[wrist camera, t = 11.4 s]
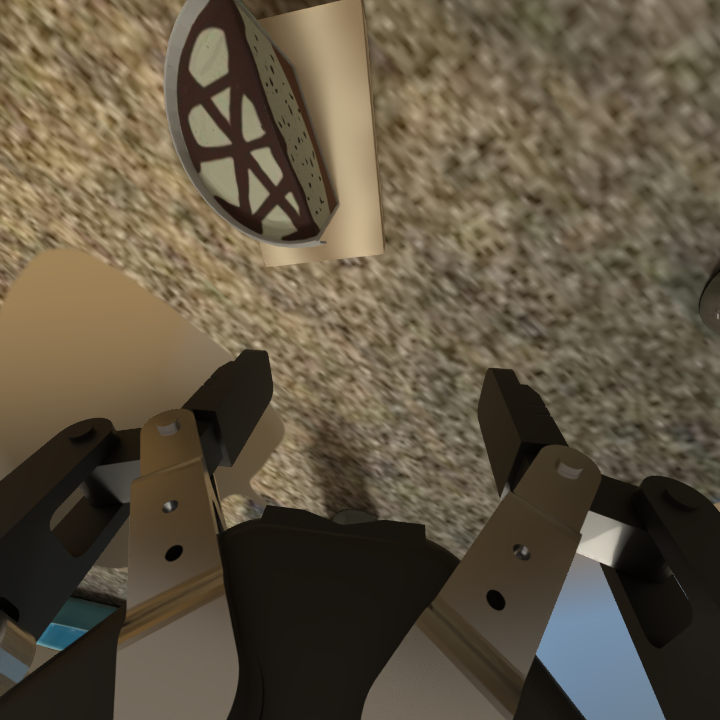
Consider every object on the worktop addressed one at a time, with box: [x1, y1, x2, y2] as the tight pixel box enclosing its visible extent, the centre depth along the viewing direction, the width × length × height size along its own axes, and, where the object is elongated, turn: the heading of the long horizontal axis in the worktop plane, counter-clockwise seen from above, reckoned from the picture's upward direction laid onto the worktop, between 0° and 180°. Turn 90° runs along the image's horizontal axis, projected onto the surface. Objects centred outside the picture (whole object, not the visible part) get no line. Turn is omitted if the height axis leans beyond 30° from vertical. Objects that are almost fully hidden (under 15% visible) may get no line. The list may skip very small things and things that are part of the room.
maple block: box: [257, 0, 385, 267], centre depth 27 cm, size 11×16×5 cm
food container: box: [164, 0, 340, 248], centre depth 21 cm, size 12×6×10 cm, turn 18°
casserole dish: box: [36, 597, 118, 651], centre depth 88 cm, size 37×22×7 cm, turn 79°
